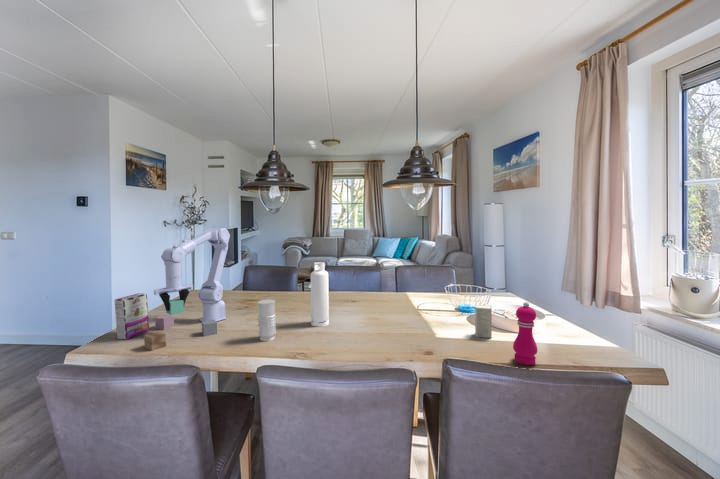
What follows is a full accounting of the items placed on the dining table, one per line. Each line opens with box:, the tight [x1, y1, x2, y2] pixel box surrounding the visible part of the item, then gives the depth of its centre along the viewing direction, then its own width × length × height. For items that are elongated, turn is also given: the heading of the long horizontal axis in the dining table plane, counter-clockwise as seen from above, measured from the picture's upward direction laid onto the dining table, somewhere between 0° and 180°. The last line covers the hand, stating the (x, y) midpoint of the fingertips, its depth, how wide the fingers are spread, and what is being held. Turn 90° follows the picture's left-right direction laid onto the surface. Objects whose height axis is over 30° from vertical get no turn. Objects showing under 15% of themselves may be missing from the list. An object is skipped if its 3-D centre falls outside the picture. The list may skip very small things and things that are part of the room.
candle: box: [257, 298, 277, 342], centre depth 131 cm, size 7×7×15 cm
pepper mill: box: [512, 301, 538, 366], centre depth 108 cm, size 7×7×20 cm
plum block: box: [154, 314, 175, 331], centre depth 145 cm, size 5×5×5 cm
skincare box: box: [474, 304, 493, 339], centre depth 132 cm, size 6×4×12 cm
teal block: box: [165, 298, 185, 316], centre depth 137 cm, size 5×5×5 cm
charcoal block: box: [201, 319, 218, 337], centre depth 137 cm, size 5×5×5 cm
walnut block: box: [143, 330, 167, 352], centre depth 122 cm, size 5×5×5 cm
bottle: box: [310, 261, 330, 327], centre depth 148 cm, size 8×8×28 cm
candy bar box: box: [114, 292, 150, 341], centre depth 135 cm, size 11×5×16 cm, turn 168°
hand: (175, 309), depth 137 cm, fingers closed on teal block, 5 cm apart
